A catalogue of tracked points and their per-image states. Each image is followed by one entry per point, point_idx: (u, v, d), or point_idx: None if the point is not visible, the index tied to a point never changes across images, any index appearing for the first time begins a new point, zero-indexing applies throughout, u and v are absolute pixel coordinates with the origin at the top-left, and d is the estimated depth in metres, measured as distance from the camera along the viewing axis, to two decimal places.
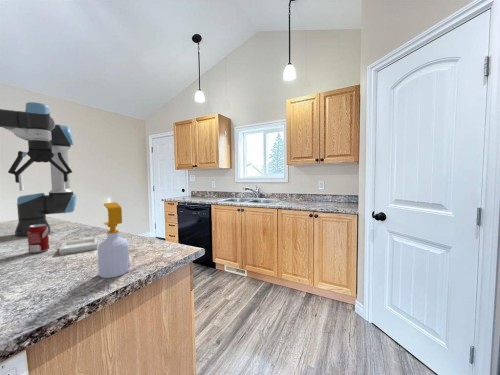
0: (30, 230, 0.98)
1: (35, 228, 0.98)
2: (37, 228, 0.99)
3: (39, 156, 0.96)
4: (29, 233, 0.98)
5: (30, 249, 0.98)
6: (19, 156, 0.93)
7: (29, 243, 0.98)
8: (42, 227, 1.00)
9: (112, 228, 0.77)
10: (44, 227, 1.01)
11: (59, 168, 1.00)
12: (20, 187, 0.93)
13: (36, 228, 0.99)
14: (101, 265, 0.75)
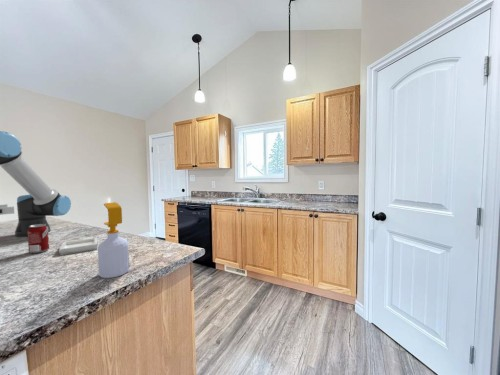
0: (30, 230, 0.98)
1: (35, 228, 0.98)
2: (37, 228, 0.99)
3: None
4: (29, 233, 0.98)
5: (30, 249, 0.98)
6: None
7: (29, 243, 0.98)
8: (42, 227, 1.00)
9: (112, 228, 0.77)
10: (44, 227, 1.01)
11: None
12: None
13: (36, 228, 0.99)
14: (101, 265, 0.75)
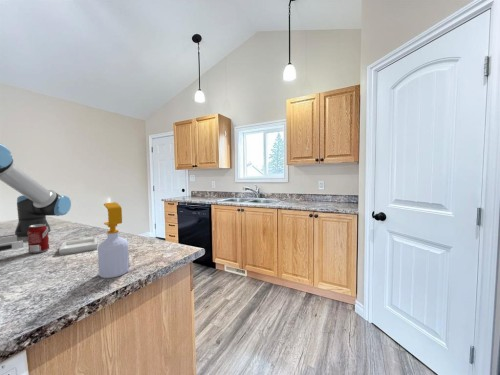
0: (29, 230, 0.98)
1: (35, 228, 0.98)
2: (37, 228, 0.99)
3: None
4: (29, 233, 0.98)
5: (30, 249, 0.98)
6: None
7: (29, 243, 0.98)
8: (42, 227, 1.00)
9: (112, 228, 0.77)
10: (44, 227, 1.01)
11: None
12: (12, 242, 0.99)
13: (36, 228, 0.99)
14: (101, 265, 0.75)
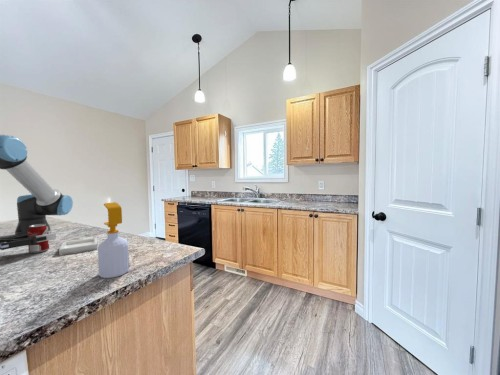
0: (30, 230, 0.98)
1: (35, 228, 0.98)
2: (37, 228, 0.99)
3: None
4: (29, 233, 0.98)
5: (30, 249, 0.98)
6: None
7: None
8: (42, 227, 1.00)
9: (112, 228, 0.77)
10: (44, 227, 1.01)
11: None
12: None
13: (36, 228, 0.99)
14: (101, 265, 0.75)
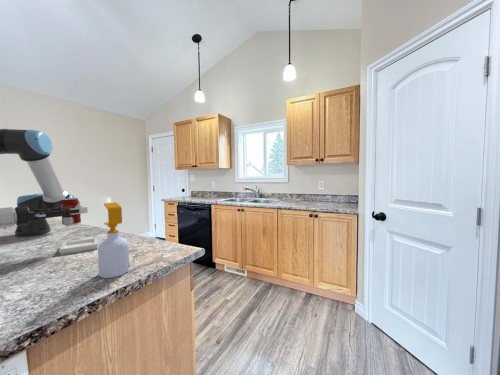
0: (63, 203, 1.00)
1: (68, 201, 1.00)
2: (70, 201, 1.01)
3: None
4: (63, 205, 1.00)
5: (64, 221, 1.00)
6: None
7: None
8: (75, 200, 1.02)
9: (112, 228, 0.77)
10: (76, 200, 1.03)
11: None
12: None
13: (69, 201, 1.01)
14: (101, 265, 0.75)
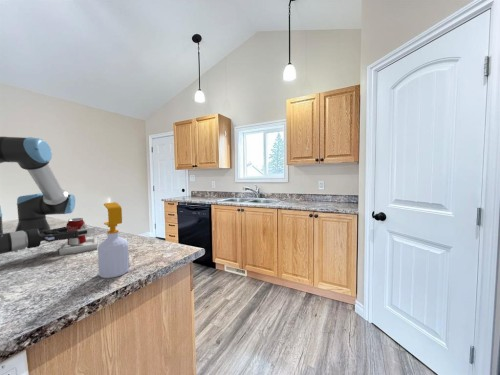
0: (69, 224, 1.02)
1: (74, 222, 1.03)
2: (76, 222, 1.03)
3: None
4: (68, 227, 1.02)
5: (69, 242, 1.03)
6: None
7: None
8: (80, 221, 1.05)
9: (112, 228, 0.77)
10: (82, 221, 1.05)
11: None
12: None
13: (75, 222, 1.03)
14: (101, 265, 0.75)
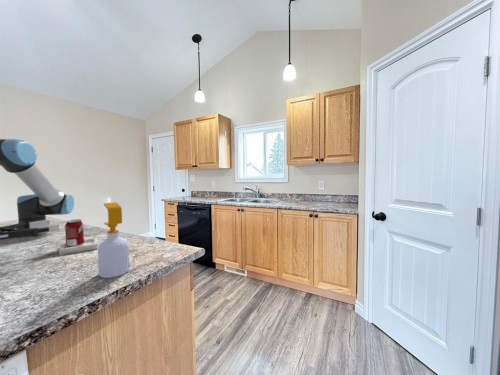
0: (67, 225, 1.02)
1: (72, 223, 1.03)
2: (74, 223, 1.03)
3: None
4: (67, 228, 1.02)
5: (67, 243, 1.03)
6: None
7: (66, 237, 1.03)
8: (78, 222, 1.05)
9: (112, 228, 0.77)
10: (80, 222, 1.05)
11: None
12: (45, 226, 1.01)
13: (73, 223, 1.03)
14: (101, 265, 0.75)
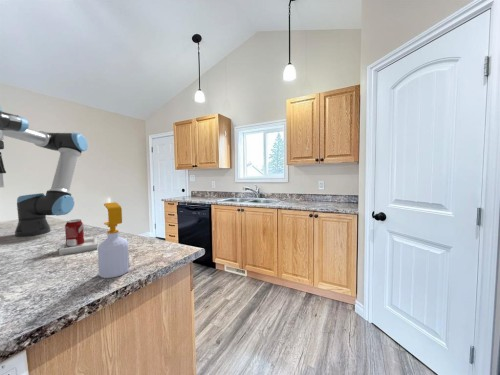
0: (67, 225, 1.02)
1: (72, 223, 1.03)
2: (74, 223, 1.03)
3: None
4: (67, 228, 1.02)
5: (67, 243, 1.03)
6: None
7: (66, 237, 1.03)
8: (78, 222, 1.05)
9: (112, 228, 0.77)
10: (80, 222, 1.05)
11: None
12: None
13: (73, 223, 1.03)
14: (101, 265, 0.75)
